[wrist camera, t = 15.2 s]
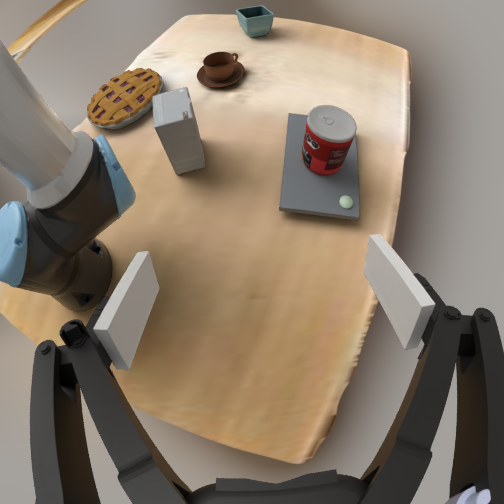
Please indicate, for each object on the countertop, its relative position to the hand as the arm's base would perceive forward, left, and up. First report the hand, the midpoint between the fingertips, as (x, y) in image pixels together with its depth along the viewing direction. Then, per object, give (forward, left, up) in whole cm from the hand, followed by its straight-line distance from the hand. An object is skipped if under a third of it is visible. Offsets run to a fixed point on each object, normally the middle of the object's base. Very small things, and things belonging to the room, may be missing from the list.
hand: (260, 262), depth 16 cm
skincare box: (-18, +27, -31) cm, 45 cm away
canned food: (+8, +27, -28) cm, 40 cm away
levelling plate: (+8, +27, -31) cm, 42 cm away
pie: (-41, +45, -31) cm, 69 cm away
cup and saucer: (-17, +54, -31) cm, 64 cm away
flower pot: (-11, +78, -31) cm, 85 cm away
